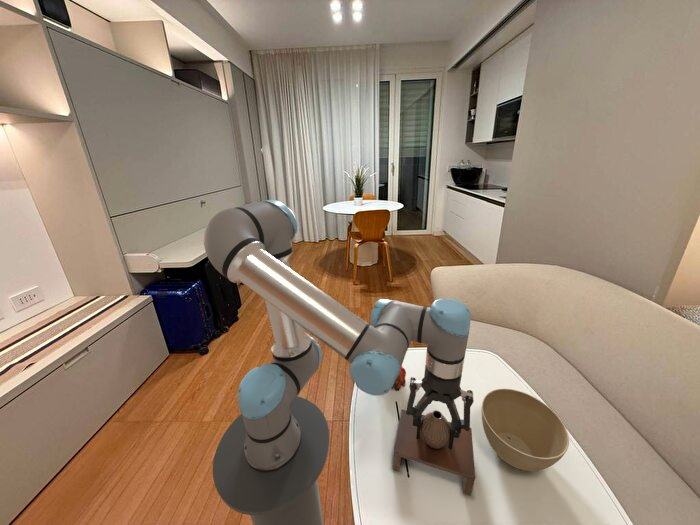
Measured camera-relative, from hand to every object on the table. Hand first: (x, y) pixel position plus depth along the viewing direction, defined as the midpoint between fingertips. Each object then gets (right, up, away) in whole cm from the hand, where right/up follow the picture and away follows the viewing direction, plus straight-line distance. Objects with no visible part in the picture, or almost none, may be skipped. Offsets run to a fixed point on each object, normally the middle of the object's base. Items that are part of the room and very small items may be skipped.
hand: (434, 438), depth 66 cm
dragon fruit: (-6, +2, +25) cm, 26 cm away
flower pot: (+22, -6, +4) cm, 23 cm away
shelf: (0, -7, +3) cm, 7 cm away
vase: (0, -1, 0) cm, 0 cm away
